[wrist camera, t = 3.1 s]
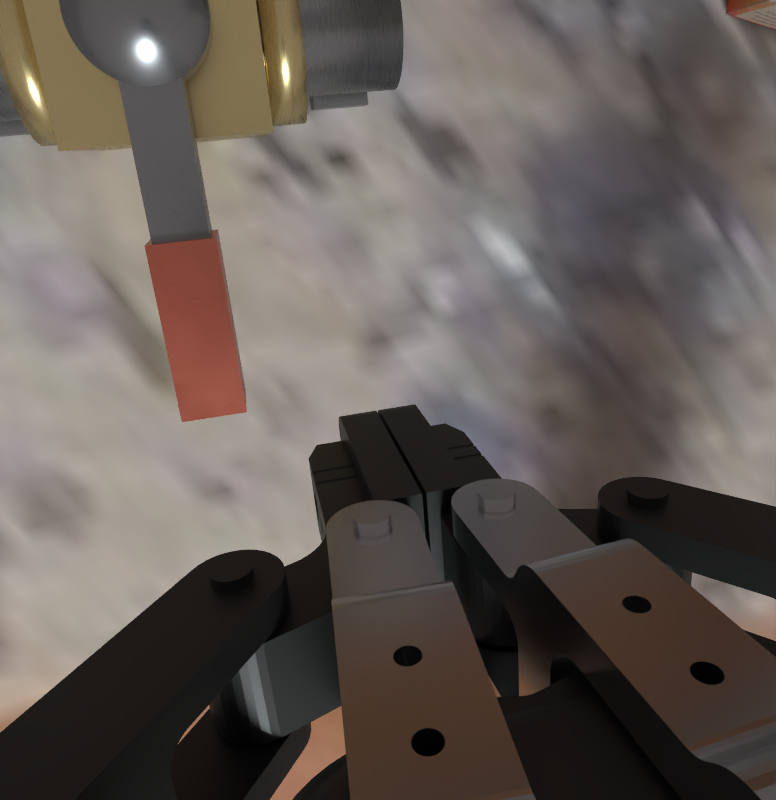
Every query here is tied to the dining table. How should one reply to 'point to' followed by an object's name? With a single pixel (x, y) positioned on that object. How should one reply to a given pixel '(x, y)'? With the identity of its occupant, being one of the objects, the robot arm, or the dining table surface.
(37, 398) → the dining table surface
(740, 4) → the cracker box
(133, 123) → the lever
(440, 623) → the robot arm
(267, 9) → the valve pipe
